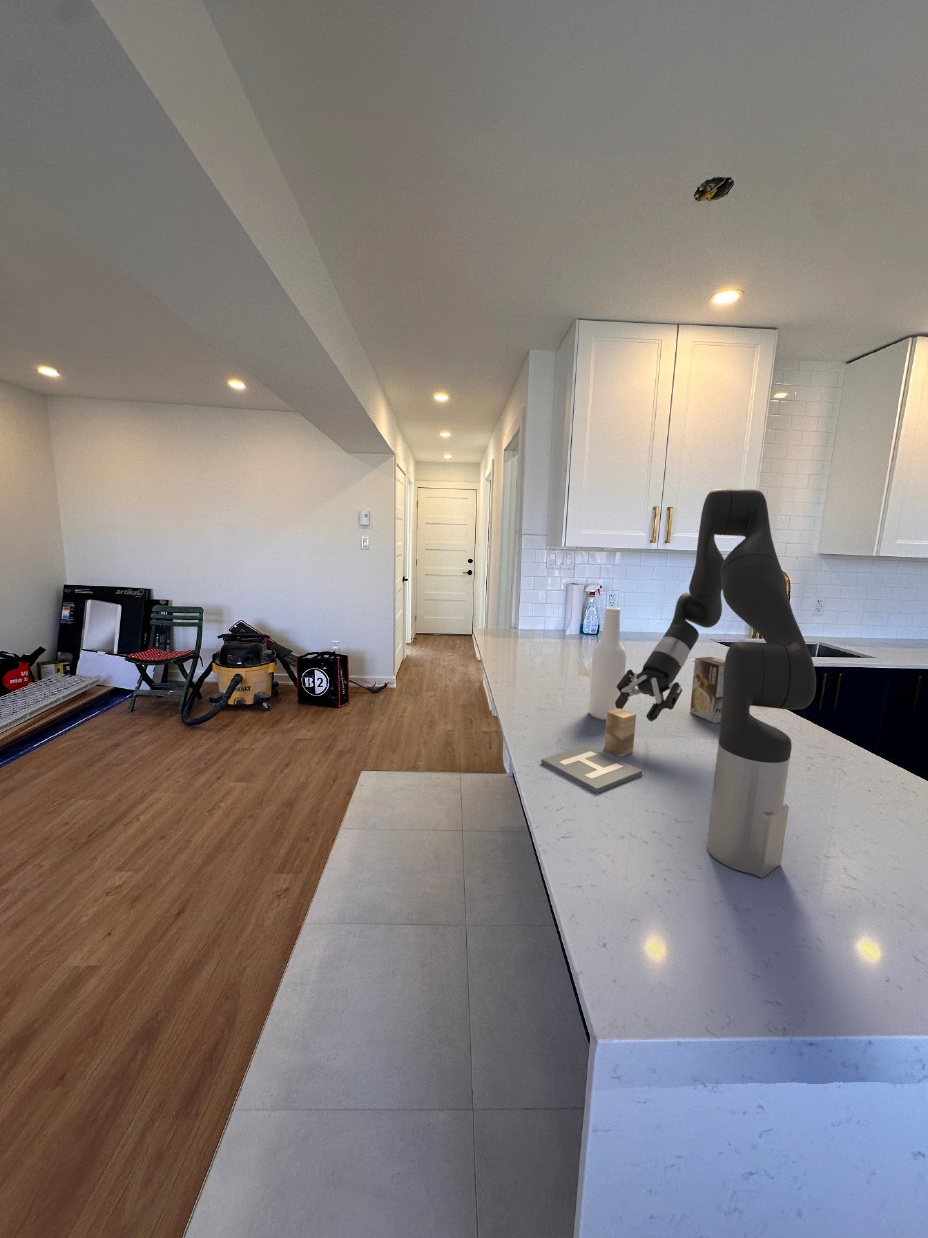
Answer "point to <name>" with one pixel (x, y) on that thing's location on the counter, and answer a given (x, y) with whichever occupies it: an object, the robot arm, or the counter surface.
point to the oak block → (620, 732)
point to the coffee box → (707, 688)
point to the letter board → (591, 768)
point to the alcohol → (607, 667)
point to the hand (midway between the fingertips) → (633, 713)
